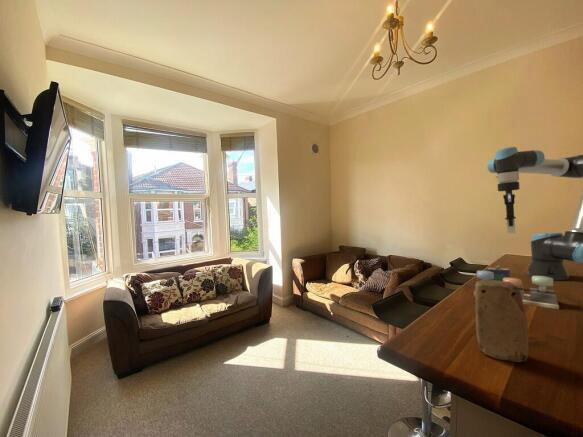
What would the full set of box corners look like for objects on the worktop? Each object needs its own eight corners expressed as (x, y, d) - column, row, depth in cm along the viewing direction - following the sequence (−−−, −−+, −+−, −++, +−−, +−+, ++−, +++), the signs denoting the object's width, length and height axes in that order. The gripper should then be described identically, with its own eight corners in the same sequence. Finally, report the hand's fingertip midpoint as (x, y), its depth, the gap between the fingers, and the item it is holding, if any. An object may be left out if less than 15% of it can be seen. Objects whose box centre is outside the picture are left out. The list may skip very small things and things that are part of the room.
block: (475, 353, 69) (472, 282, 69) (478, 342, 75) (476, 276, 74) (529, 368, 62) (526, 289, 62) (528, 354, 68) (526, 281, 67)
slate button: (484, 282, 115) (484, 270, 115) (497, 286, 109) (497, 273, 109) (473, 284, 114) (473, 271, 114) (486, 288, 108) (486, 274, 108)
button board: (473, 296, 111) (473, 286, 111) (476, 290, 118) (475, 280, 118) (559, 309, 93) (558, 297, 93) (555, 301, 101) (555, 289, 101)
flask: (509, 286, 120) (508, 264, 120) (512, 288, 117) (511, 266, 117) (486, 285, 123) (485, 264, 123) (488, 287, 121) (487, 265, 120)
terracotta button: (510, 290, 109) (510, 276, 109) (526, 294, 103) (525, 280, 103) (499, 292, 108) (499, 278, 108) (514, 296, 102) (514, 282, 102)
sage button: (539, 289, 103) (539, 275, 103) (557, 294, 97) (557, 278, 97) (528, 291, 102) (527, 276, 102) (545, 296, 96) (545, 280, 96)
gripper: (497, 183, 122) (500, 231, 123) (497, 182, 112) (500, 235, 113) (518, 181, 117) (521, 231, 118) (519, 180, 107) (523, 235, 108)
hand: (511, 233), depth 115 cm, fingers closed
